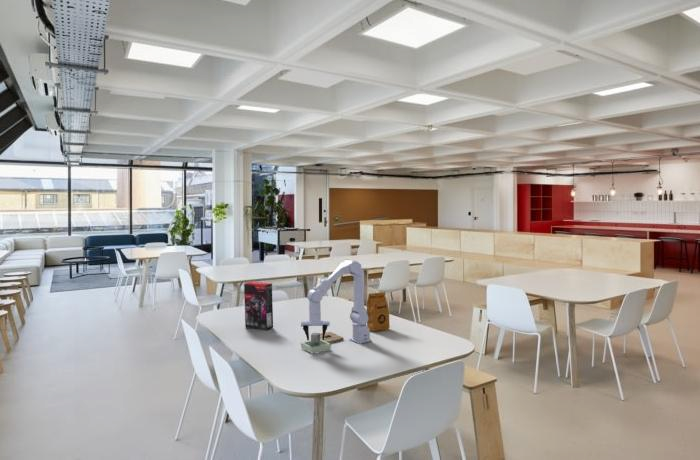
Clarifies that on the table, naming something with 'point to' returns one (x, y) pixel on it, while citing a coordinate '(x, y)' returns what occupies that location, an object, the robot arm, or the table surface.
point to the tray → (322, 347)
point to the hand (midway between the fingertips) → (315, 339)
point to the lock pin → (315, 339)
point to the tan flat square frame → (331, 337)
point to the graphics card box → (258, 305)
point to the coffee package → (377, 312)
